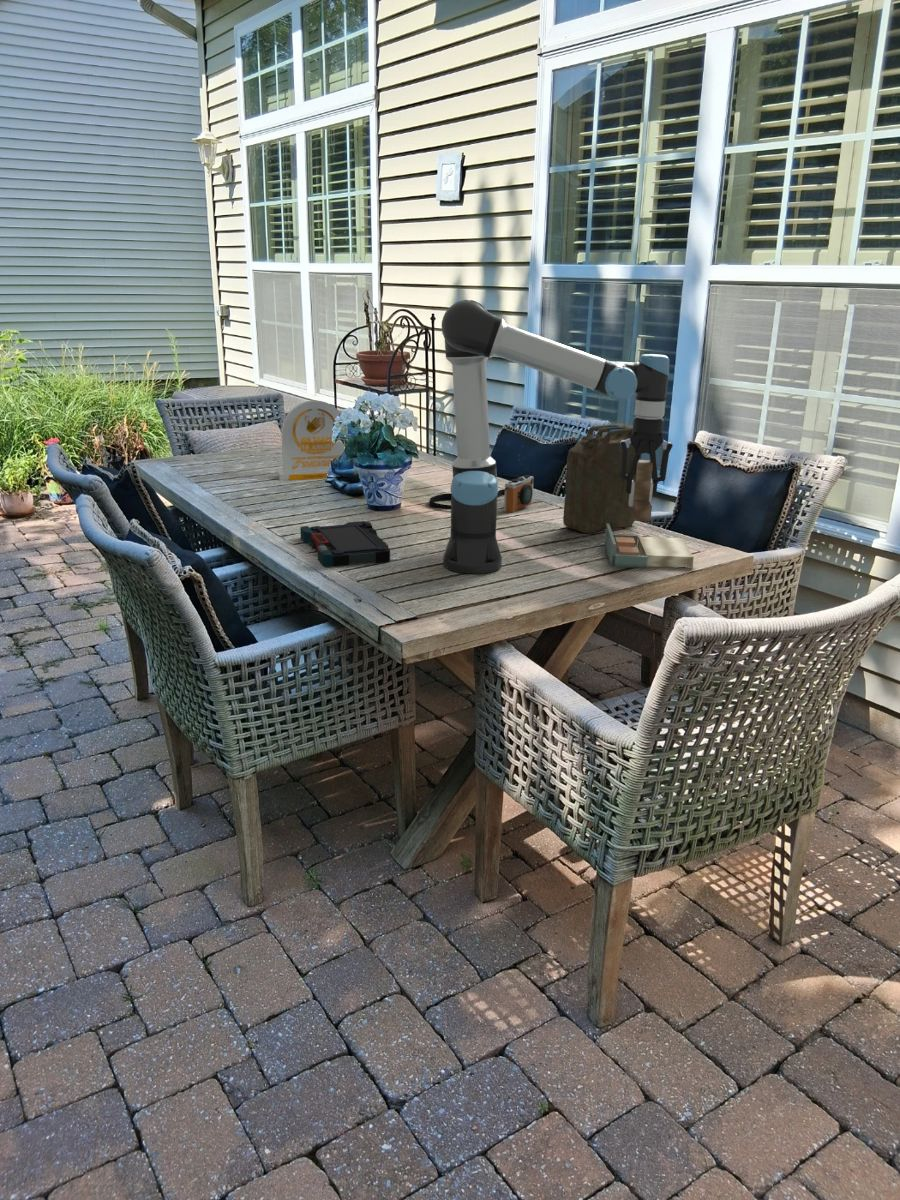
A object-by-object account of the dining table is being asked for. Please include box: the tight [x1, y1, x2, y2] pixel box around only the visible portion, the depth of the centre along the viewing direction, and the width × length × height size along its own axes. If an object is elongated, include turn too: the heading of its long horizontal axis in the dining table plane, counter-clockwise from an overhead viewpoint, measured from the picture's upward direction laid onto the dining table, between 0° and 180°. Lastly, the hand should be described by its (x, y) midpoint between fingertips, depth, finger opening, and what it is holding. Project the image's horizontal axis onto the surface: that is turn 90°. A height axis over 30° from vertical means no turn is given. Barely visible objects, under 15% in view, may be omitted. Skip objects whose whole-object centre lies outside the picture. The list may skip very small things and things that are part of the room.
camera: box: [428, 474, 534, 514], centre depth 292 cm, size 30×30×10 cm
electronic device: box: [299, 520, 391, 568], centre depth 242 cm, size 20×31×5 cm, turn 21°
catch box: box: [604, 524, 648, 569], centre depth 239 cm, size 9×21×6 cm, turn 175°
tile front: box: [618, 546, 639, 556], centre depth 235 cm, size 5×5×2 cm
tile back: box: [615, 537, 635, 551], centre depth 244 cm, size 5×5×2 cm
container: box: [562, 422, 642, 534], centre depth 263 cm, size 23×10×30 cm, turn 122°
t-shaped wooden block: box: [628, 459, 653, 523], centre depth 234 cm, size 4×16×14 cm, turn 175°
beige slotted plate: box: [638, 536, 695, 569], centre depth 239 cm, size 12×18×3 cm, turn 175°
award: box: [276, 399, 344, 481], centre depth 324 cm, size 28×9×28 cm, turn 108°
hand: (639, 505), depth 236 cm, fingers closed on t-shaped wooden block, 4 cm apart
